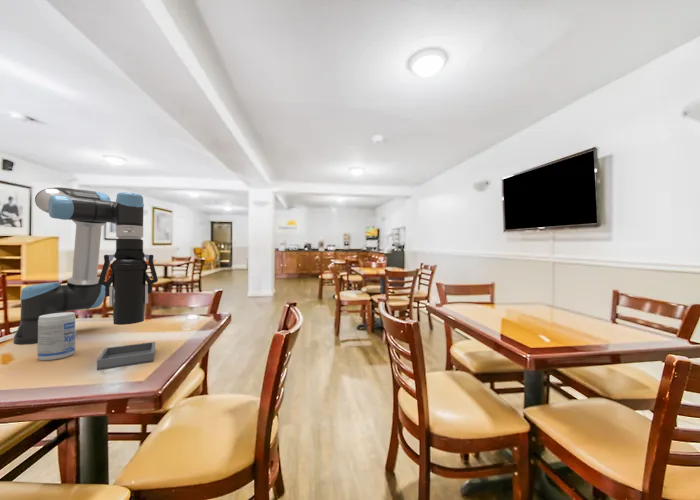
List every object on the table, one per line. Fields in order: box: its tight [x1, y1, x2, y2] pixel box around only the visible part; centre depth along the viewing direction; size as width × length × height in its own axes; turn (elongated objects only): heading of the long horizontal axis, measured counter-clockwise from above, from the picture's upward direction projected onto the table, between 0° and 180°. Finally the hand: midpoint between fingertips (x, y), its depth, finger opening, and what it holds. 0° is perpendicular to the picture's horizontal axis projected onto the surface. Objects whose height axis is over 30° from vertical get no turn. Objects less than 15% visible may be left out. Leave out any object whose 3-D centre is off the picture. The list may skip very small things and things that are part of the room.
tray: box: [96, 341, 156, 371], centre depth 104 cm, size 15×15×3 cm
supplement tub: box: [37, 311, 76, 361], centre depth 107 cm, size 10×10×15 cm
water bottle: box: [110, 255, 149, 326], centre depth 104 cm, size 10×10×23 cm
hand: (129, 304), depth 104 cm, fingers closed on water bottle, 9 cm apart
